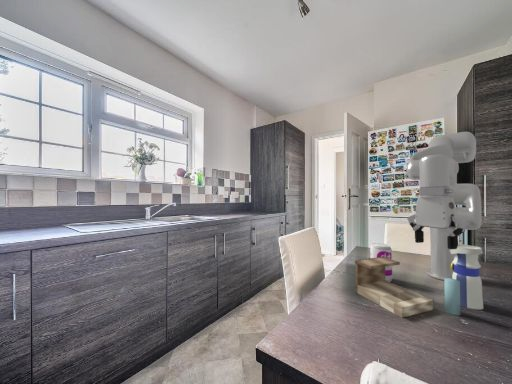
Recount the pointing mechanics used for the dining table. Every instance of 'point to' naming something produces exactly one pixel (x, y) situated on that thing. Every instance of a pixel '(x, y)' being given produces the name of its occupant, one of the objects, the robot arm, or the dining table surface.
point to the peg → (452, 296)
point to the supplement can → (382, 251)
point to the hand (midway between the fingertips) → (434, 245)
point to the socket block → (387, 288)
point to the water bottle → (468, 275)
